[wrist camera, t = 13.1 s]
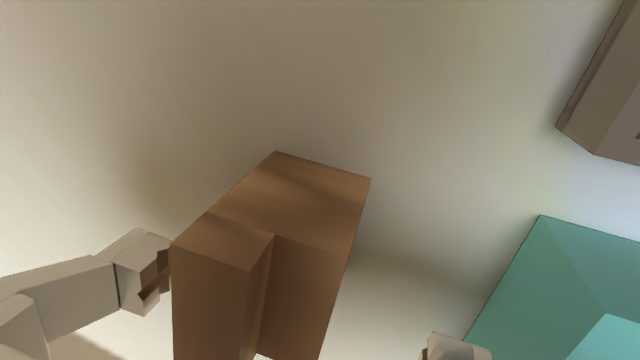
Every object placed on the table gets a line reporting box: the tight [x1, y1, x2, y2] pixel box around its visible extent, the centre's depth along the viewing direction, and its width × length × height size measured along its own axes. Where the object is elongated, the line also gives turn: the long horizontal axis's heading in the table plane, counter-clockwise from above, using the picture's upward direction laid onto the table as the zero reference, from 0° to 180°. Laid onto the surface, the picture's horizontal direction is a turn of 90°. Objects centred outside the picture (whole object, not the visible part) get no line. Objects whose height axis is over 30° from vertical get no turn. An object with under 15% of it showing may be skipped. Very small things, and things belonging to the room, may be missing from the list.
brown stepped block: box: [170, 151, 371, 360], centre depth 11 cm, size 4×5×6 cm
